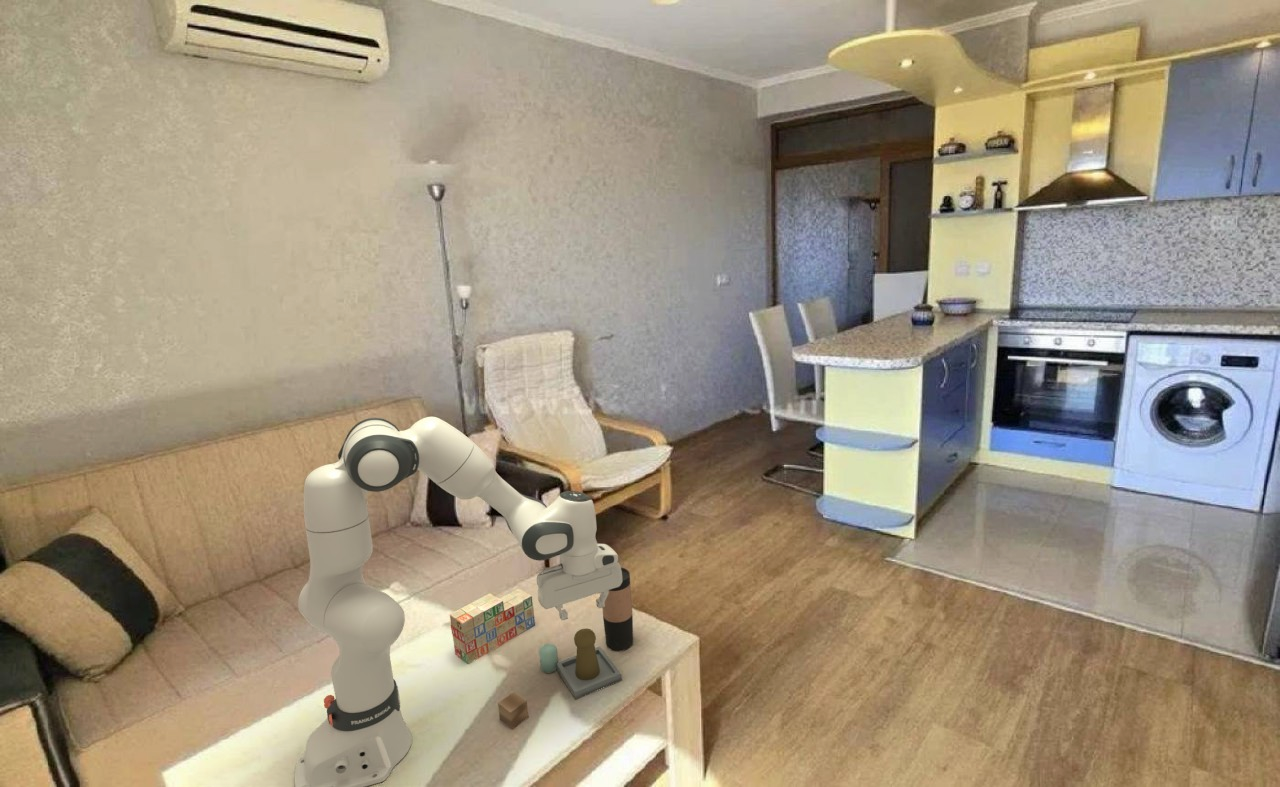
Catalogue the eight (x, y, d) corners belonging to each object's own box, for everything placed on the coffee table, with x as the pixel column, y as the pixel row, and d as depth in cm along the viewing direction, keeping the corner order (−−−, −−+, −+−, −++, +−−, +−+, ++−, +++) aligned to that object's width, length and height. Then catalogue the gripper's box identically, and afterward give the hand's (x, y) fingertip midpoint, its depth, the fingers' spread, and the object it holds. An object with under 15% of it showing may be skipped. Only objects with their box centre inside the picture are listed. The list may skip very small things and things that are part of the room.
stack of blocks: (522, 617, 176) (517, 578, 173) (535, 625, 172) (531, 585, 169) (454, 655, 161) (448, 613, 158) (467, 665, 157) (461, 622, 154)
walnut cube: (512, 729, 135) (510, 712, 134) (500, 720, 138) (497, 703, 137) (528, 717, 139) (526, 700, 137) (516, 708, 142) (514, 691, 140)
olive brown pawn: (595, 681, 147) (592, 641, 145) (571, 678, 149) (568, 639, 146) (603, 665, 153) (600, 626, 150) (579, 662, 154) (576, 623, 152)
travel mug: (599, 642, 163) (593, 574, 158) (621, 629, 168) (617, 563, 163) (617, 656, 157) (612, 586, 152) (640, 642, 162) (636, 574, 157)
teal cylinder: (545, 675, 152) (543, 657, 150) (538, 666, 155) (536, 648, 154) (561, 667, 154) (560, 650, 153) (553, 658, 158) (551, 641, 156)
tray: (575, 699, 143) (574, 692, 143) (556, 669, 153) (556, 662, 153) (621, 680, 148) (621, 673, 148) (600, 652, 159) (600, 646, 158)
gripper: (540, 577, 136) (545, 633, 139) (624, 553, 145) (626, 606, 148) (531, 565, 141) (536, 619, 144) (612, 542, 150) (614, 594, 154)
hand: (582, 612), depth 146 cm, fingers open, 8 cm apart
